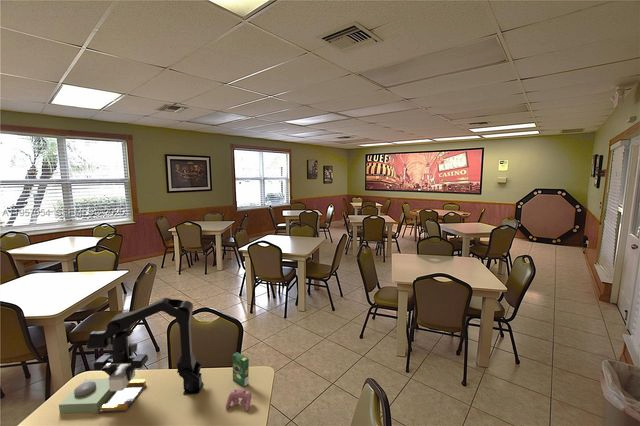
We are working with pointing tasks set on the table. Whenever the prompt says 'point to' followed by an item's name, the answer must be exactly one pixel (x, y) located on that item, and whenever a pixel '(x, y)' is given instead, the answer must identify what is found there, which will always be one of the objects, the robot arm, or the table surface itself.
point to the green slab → (87, 397)
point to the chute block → (119, 378)
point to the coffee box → (240, 369)
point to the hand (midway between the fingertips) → (122, 380)
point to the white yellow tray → (123, 397)
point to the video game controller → (239, 394)
